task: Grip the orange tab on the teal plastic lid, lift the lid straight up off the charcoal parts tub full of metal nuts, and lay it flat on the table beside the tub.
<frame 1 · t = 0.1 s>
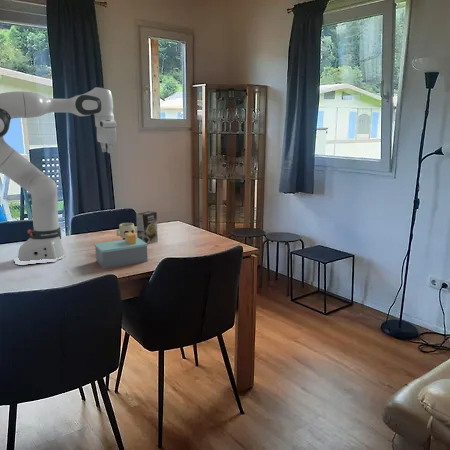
hand: (106, 152, 213), 48 cm above the table, tool pointing down, fingers open, 8 cm apart
coffee box: (147, 243, 234), on the table
nuts: (122, 261, 201), point 1 cm above the table, touching tub
lid: (121, 248, 199), point 7 cm above the table, touching tub
character mug: (128, 250, 222), on the table
tub: (122, 262, 201), on the table
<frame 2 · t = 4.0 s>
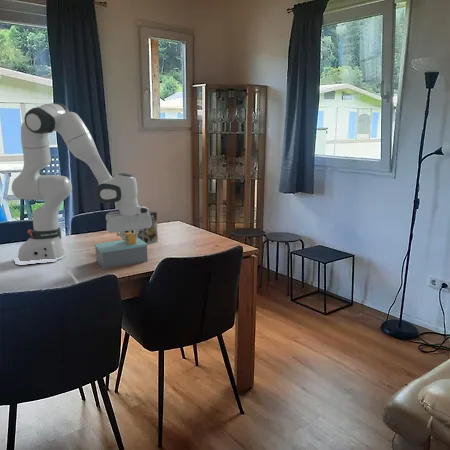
hand: (130, 239, 201), 10 cm above the table, tool pointing down, fingers closed on lid, 3 cm apart
lid: (121, 248, 199), point 7 cm above the table, touching gripper, tub
everything else where it was.
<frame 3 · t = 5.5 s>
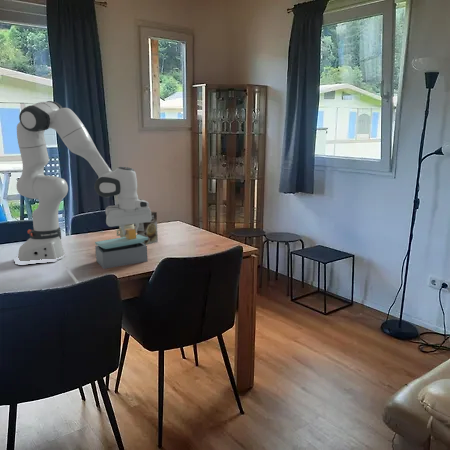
hand: (130, 233, 200), 13 cm above the table, tool pointing down, fingers closed on lid, 3 cm apart
lid: (121, 244, 198), point 9 cm above the table, tilted 7°, touching gripper
everything else where it was.
when the fingers open (5 cm above the table, at t = 12.9 s): lid drops 1 cm, on the table.
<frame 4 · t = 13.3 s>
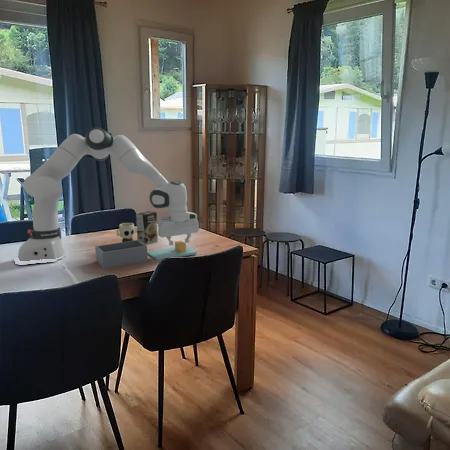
hand: (179, 243, 214), 5 cm above the table, tool pointing down, fingers open, 7 cm apart
lid: (172, 255, 212), on the table
everything else where it was.
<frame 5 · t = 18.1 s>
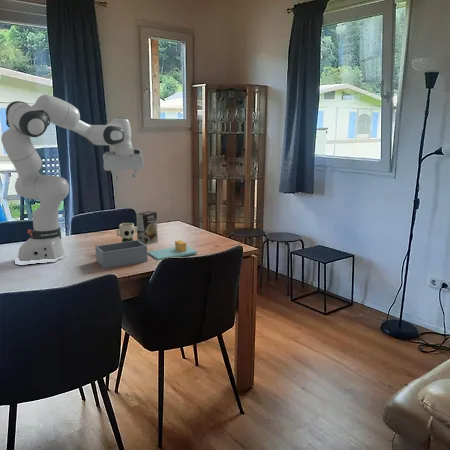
hand: (125, 178, 225), 34 cm above the table, tool pointing down, fingers open, 8 cm apart
nothing on the table moved.
at the end: lid inside the target area (0.8 cm from its centre), on the table; lid touching table; lid tilted 0° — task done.
